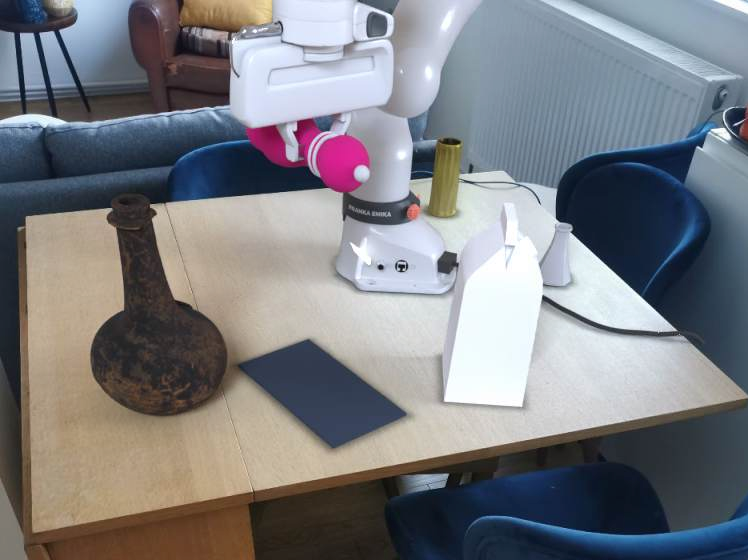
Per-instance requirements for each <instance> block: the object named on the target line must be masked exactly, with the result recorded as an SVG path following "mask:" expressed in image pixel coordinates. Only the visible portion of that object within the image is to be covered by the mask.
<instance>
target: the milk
mask: <svg viewBox="0 0 748 560" xmlns="http://www.w3.org/2000/svg"><path fill="white" fill-rule="evenodd" d="M518 226H519V220H518V216H517V211H516V207H515V202H503V203H502V208H501V211H500V217H499V219H498V220H496V221H495V222H493V223H492V224H491V225H489V226H488V227H487V228H485V229H484V230H482V231H481V232H479V233H477V234H476V235H474V237H472V238H471V239H469V240H468V241H467V242H466V243H465V244H464V245H463V247H462V249H461V252H460V256H459V262H458V263H459V267H458V268H457V271H456V279H455V282H454V289H453V295H452V301H451V306H450V311H449V317H448V323H447V329H446V333H445V334H446V335H445V338H444V343H443V344H444V345H443V350H442V355H441V360H442V361H441V362H442V364H441V365H442V381H443V382H442V383H443V402H445V403H447V402H448V403H459V404H460V403H462V404H476V405H491V406H505V407H520V408H523V403H524V398H525V393H526V387H527V381H528V376H529V372H530V366H531V360H532V354H533V349H534V343H535V337H536V334H537V333H536V332H537V328H538V322H539V316H540V311H541V306H542V305H541V304H542V301H543V300H542V295H543V293H544V291H543V290H544V287H543V286H544V283H543V279H542V275H541V271H540V267H539V260H538V256H537V255H538V250H537V248H536V246H535V244H534V242H533V241H532V240H531V239H530V237H529V236H528V235H525V236H524V235H523V234H522V233H521V231H520V230H519V228H518Z"/></svg>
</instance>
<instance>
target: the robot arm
mask: <svg viewBox="0 0 748 560" xmlns="http://www.w3.org/2000/svg"><path fill="white" fill-rule="evenodd" d="M482 2H484V0H398V2H397V5H396V6H395V8H394V10H393V12H392V13H391V14H390V13H388V12H386V11H385V10H381V9H379V8H376V7H374V6H371V5H369V4H367V2H365V1H363V0H271V6H272V7H271V11H272V13H271V15H272V22H267V23H262V24H259V25H258V24H257V25H254V24H246V25H243V26H241V27H240V29H239V31H237V32H236V33H235V34H234V35H233V37H232V39H231V40H230V41H229V49H228V50H229V63H230V79H229V110H230V113H231V115H232V117H233V118H234V119H235V120H236V121H237V122H238V123H239V124H241V125H243V126H245V128H246V127H249V128H251V129H255V128H260V127H266V126H272V125H276V127H277V129H278V131H279V133H280V135H281V136H282V138H283V140H284V142H285V143H286V156H287V159H288V160H290V161H292V162H296V161H300V160H304V159H305V157H304V150H305V145H304V144H302V143H299V142H298V141H297V140H296V138H295V136H294V134H293V131H296V130H297V121H299V120H305V119H310V118H313V119H315V118H322V117H327V116H330V117H331V118H332V119H333V120H332V123H331V126H330V129H329V131H330V132H334V133H335V134H337V135H349V136H352V137H354V138H356V139H358V140H359V141H360V142H361V143H362V144H363V145H364V147H365V148H366V150H367V152H368V155H369V160H370V168H369V172H370V176H369V178H368V180H367V181H365V182H364V183H363V184H362V185H361V186H360V187H359V188H358V189H356V190H354V191H352V192H349V193H342V199H341V215H342V221H343V226H342V234H341V240H340V244H339V248H338V253H337V256H336V259H335V261H334V268H335V271H336V272H337V273H338V274H339V275H340V276H342V277H343V278H345V279H347V280H349V282H351V283H352V284H354V286H355V287H356V288H357V289H358V290H360V291H364V292H367V291H368V292H384V293H385V292H386V293H402V294H403V293H404V294H424V295H426V294H427V295H443V294H445V293H446V292H448V291H450V290H451V288H452V287H453V285H455V283H456V278H457V269H458V267H459V262H457V261H458V260H457V258H458V253H456V252H451V251H448V250H447V249H446V243H445V239H444V237H443V235H442V233H440V231H438V230H437V229H436V228H435V227H434V226H433V225H432V224H431V223H429V222H428V221H427V220H426V219H425V218H424V217H423V216H422V215H420V212H421V194H420V192H419V193H417V195H416V194H415V193H414V192H413V191H411V189H410V188H411V175H412V167H413V166H412V164H413V155H414V154H413V153H414V152H413V151H414V142H413V139H412V135H411V131H410V127H409V120H408V119H411V118H412V119H413V118H415V117H418V116H420V115H422V114H423V113H425V112H426V111H427V110H428V109H429V108H430V107H431V106H432V105H433V103H434V101H435V100H436V98H437V96H438V93H439V90H440V85H441V74H442V70H443V67H444V64H445V63H446V61H447V58H448V56H449V54H450V52H451V50H452V48H453V46H454V44H455V42H456V40H457V38H458V36H459V34H460V33H461V31H462V29H464V26H465V25H466V24H467V23H468V21H469V19H470V18H471V17H472V16H473V14H474V13H475V12H476V11H477V9H478V8H479V6H480V5H481V4H482ZM240 37H241V38H240ZM541 301H544V302H546V303H547V304H549V305H550V306H552V307H553V308H555V309H557V310H558V311H561V312H562V313H564V314H566V315H568V316H571V317H572V318H574V319H576V320H578V321H580V322H582V323H584V324H586V325H588V326H591V327H593V328H596V329H599V330H602V331H606V332H610V333H614V334H620V335H630V336H631V335H632V336H646V337H659V338H663V337H665V338H667V337H689V338H691V339H693V340H695V341H696V342H697V343H698V344H699V345H700V346H706V343H705V341H704V340H703V338H702V337H701V336H700V335H698V334H697V333H694V332H692V331H687V330H672V331H653V330H643V329H628V328H627V329H626V328H618V327H614V326H609V325H606V324H602V323H600V322H596V321H593V320H591V319H590V318H587V317H586V316H583V315H582V314H579V313H577V312H575V311H573V310H571V309H569V308H567V307H565V306H563V305H561V304H559V302H556V301H555V300H553V299H551V298H550V297H548V296H546V295H545V294H542V300H541ZM658 332H659V333H658ZM679 334H680V335H681V336H680V335H679ZM677 335H678V336H677Z"/></svg>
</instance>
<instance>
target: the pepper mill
mask: <svg viewBox="0 0 748 560" xmlns="http://www.w3.org/2000/svg"><path fill="white" fill-rule="evenodd" d="M245 131H246V135H247V138H248V140H249V143H250V144H251V145H252V146H253V147H254V148H255V149H257V150H259V151H261V152H262V153H263V154H264V156H265V157H266V159H268V160H269V161H270V162H271V163H273V164H276V165H278V166H280V167H283V168H299V167H308V168H309V170H310V171H311V173H312V174H313V175H314V176H315V177H318V178H320V179H321V181H322V183H323V184H324V185H325V186H326V187H327V188H328V189H330V190H331V191H334V192H336V193H341V194H343V193H349V192H352V191H354V190H356V189H358V188H359V187H360V186H361V185H362V184H363V183H364V182H365V181H367V180H368V178H369V176H370V172H369V168H370V160H369V155H368V152H367V150H366V148H365V147H364V145H363V144H362V143H361V142H360V141H359V140H358V139H356V138H354V137H352V136H349V135H346V134H344V135H337V134H335V133H334V132H330V130H329V131H328V130H327V131H322V130H321V129H319V127H318V125H317V123H316V121H315V118H310V119H305V120H299V121H297V130H296V131H293V134H294V136H295V138H296V140H297V141H298V142H299V143H302V144H304V145H305V150H304V157H305V159H304V160H300V161H296V162H292V161H290V160H288V159H287V156H286V143H285V142H284V140H283V138H282V136H281V135H280V133H279V131H278V129H277V127H276V125H272V126H266V127H260V128H255V129H251V128H249V127H246V126H245Z"/></svg>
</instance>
